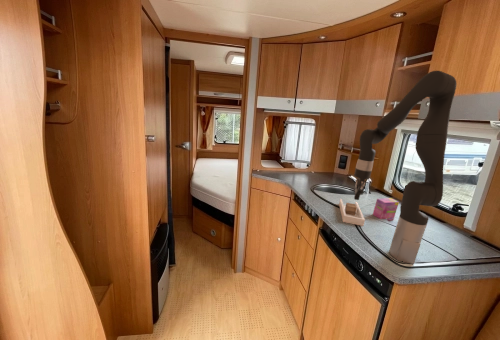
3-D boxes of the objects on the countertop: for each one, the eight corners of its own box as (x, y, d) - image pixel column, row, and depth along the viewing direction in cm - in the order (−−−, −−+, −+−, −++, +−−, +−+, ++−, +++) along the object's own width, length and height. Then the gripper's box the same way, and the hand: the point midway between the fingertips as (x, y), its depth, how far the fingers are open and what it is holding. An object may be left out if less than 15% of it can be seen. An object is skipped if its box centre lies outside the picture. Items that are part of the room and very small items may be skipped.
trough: (362, 228, 115) (364, 219, 113) (342, 224, 117) (344, 215, 116) (355, 209, 138) (357, 202, 137) (338, 206, 141) (340, 199, 139)
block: (354, 215, 126) (356, 207, 124) (345, 213, 127) (347, 205, 126) (353, 212, 130) (355, 204, 129) (344, 210, 132) (346, 202, 130)
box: (379, 221, 125) (384, 202, 122) (371, 216, 130) (376, 198, 127) (393, 220, 128) (399, 201, 124) (385, 216, 133) (390, 197, 130)
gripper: (374, 172, 107) (366, 205, 111) (369, 166, 119) (361, 196, 124) (357, 170, 109) (350, 202, 113) (354, 164, 121) (347, 193, 126)
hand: (356, 199), depth 118 cm, fingers closed
